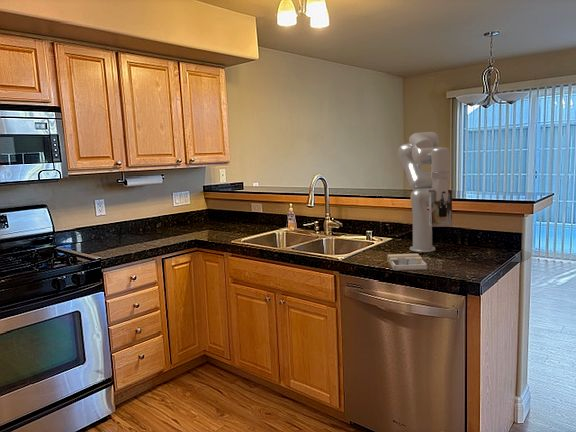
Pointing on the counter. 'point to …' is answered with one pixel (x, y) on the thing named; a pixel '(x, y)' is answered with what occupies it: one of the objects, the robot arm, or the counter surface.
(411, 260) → the offcut
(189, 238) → the counter surface
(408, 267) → the tray
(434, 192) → the coffee box
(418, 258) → the platform
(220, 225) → the counter surface
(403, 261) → the offcut
